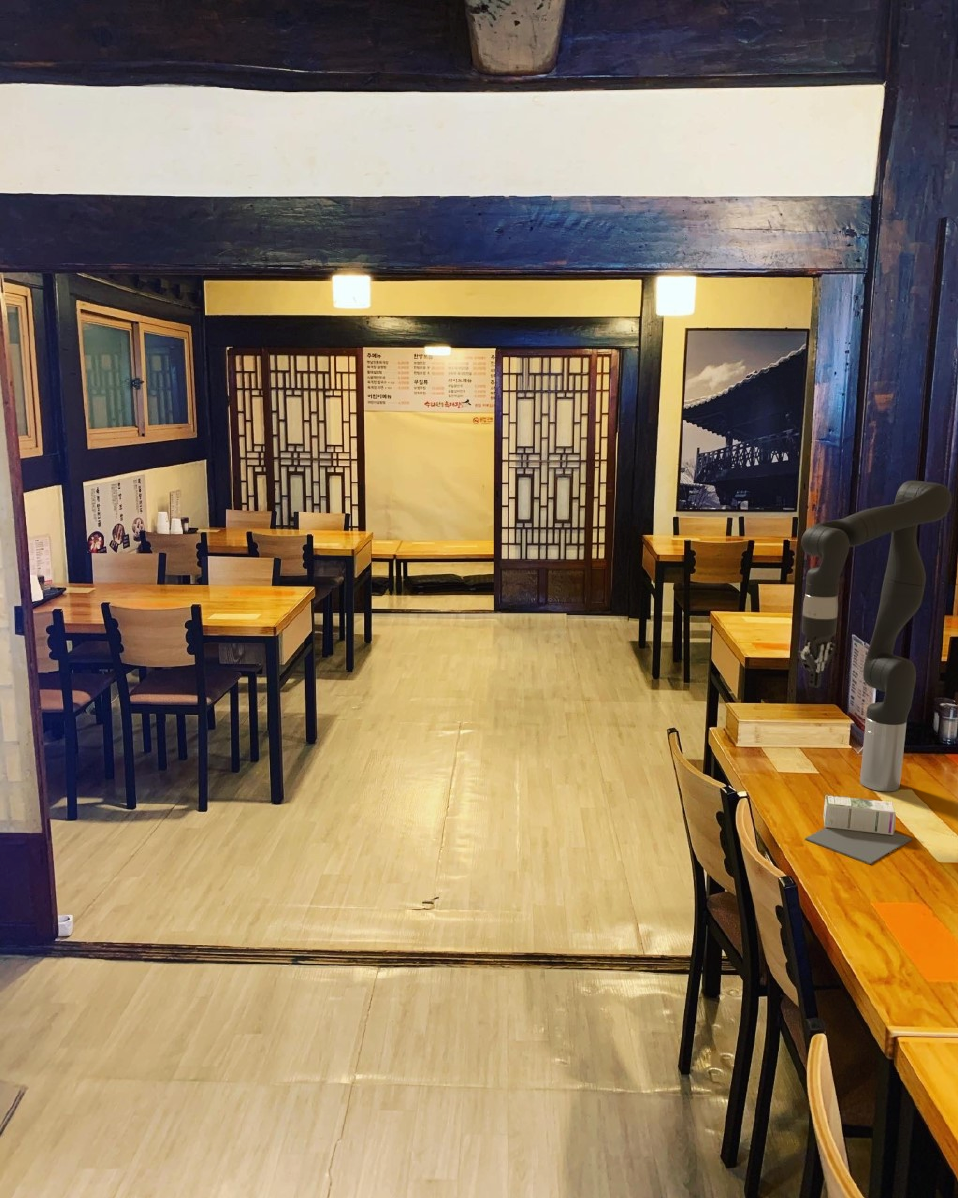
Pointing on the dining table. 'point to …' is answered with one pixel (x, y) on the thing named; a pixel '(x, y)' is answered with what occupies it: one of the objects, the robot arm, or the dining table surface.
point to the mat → (858, 843)
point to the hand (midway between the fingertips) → (814, 686)
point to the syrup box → (859, 815)
